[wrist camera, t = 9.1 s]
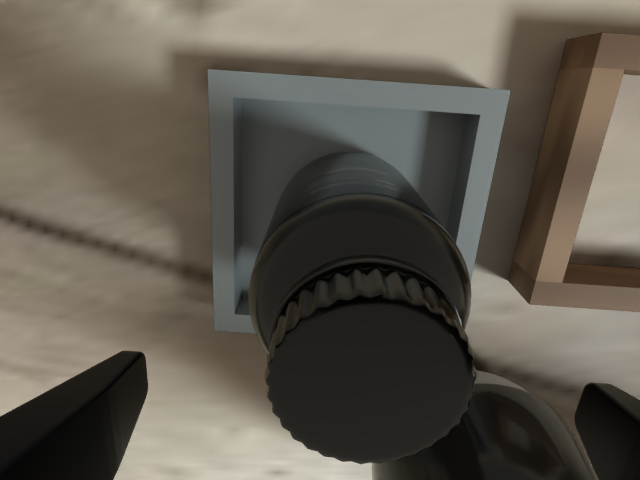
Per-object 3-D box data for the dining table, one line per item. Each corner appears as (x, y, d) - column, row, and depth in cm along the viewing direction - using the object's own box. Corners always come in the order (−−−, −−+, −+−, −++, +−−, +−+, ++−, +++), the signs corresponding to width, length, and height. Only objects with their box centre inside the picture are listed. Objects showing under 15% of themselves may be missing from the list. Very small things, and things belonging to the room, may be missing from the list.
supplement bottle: (254, 245, 21) (166, 428, 10) (319, 121, 19) (303, 176, 8) (371, 305, 22) (414, 532, 11) (446, 194, 20) (594, 335, 9)
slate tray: (445, 323, 23) (456, 347, 21) (224, 308, 23) (214, 330, 21) (490, 89, 19) (510, 90, 17) (221, 70, 19) (207, 69, 17)
